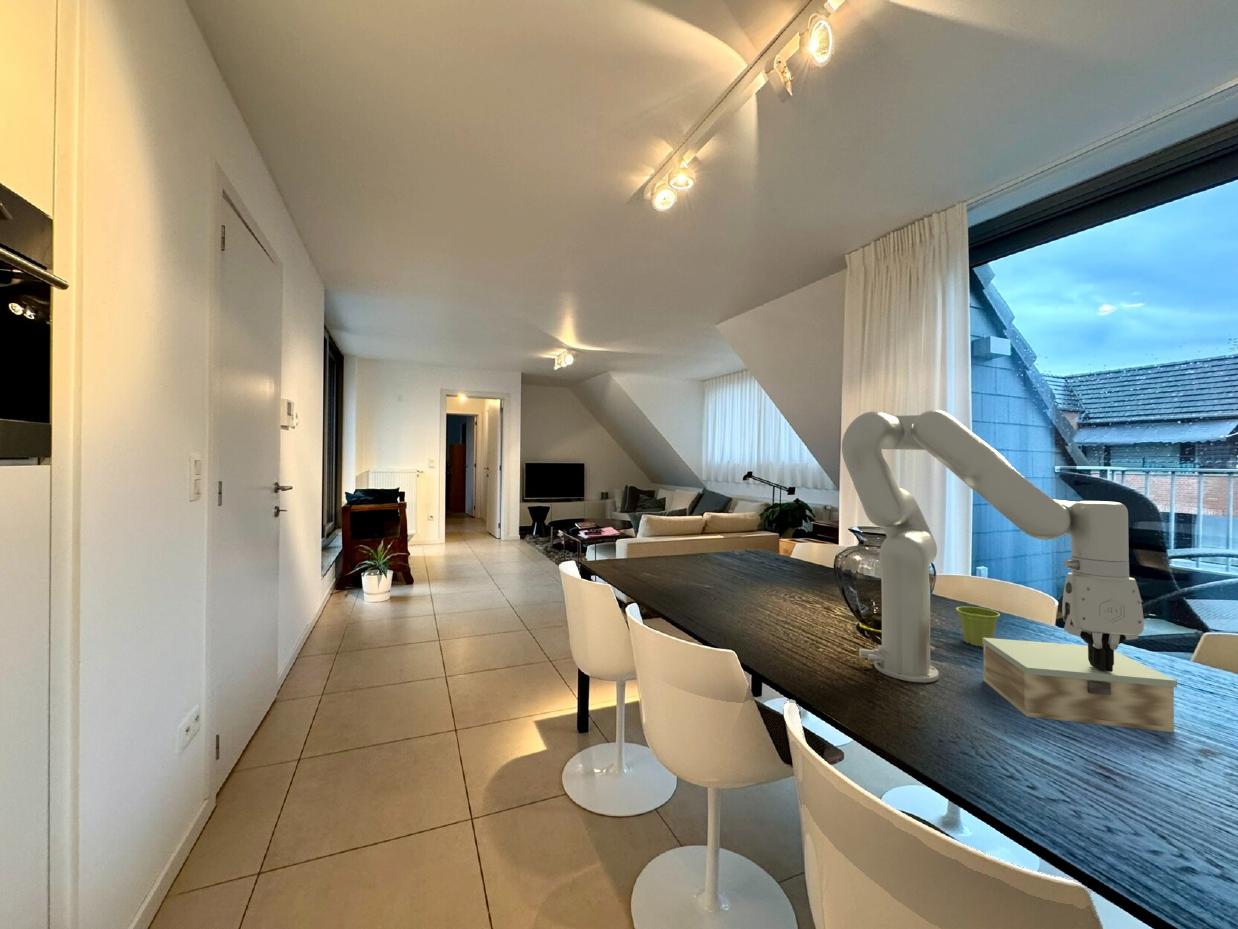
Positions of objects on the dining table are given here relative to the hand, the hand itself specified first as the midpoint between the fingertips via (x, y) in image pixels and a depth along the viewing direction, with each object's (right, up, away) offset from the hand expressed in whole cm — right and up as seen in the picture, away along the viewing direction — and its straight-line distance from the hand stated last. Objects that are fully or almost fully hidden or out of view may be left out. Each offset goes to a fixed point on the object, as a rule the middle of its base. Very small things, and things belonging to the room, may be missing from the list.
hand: (1101, 668), depth 89 cm
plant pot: (+7, -10, +39) cm, 41 cm away
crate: (0, -10, +6) cm, 11 cm away
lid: (0, -2, +6) cm, 6 cm away
